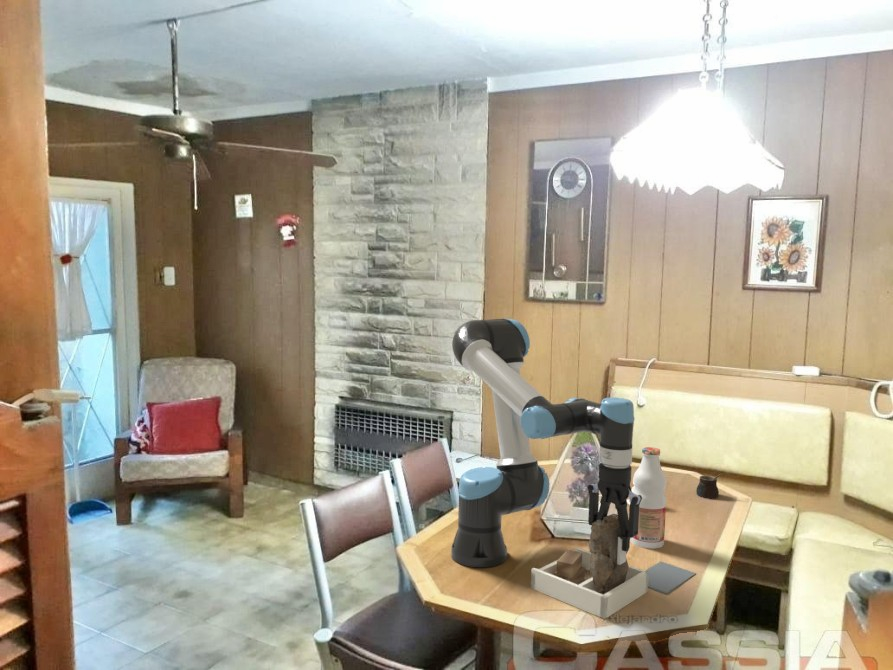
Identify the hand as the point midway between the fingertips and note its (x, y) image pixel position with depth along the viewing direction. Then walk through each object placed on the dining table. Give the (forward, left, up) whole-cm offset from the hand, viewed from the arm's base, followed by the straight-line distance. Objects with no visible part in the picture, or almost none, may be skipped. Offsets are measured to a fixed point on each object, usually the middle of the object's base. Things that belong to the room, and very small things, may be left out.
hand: (611, 559), depth 169 cm
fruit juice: (-10, +36, -10) cm, 39 cm away
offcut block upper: (-12, 0, -7) cm, 13 cm away
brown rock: (0, 0, -10) cm, 10 cm away
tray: (-6, 0, -10) cm, 11 cm away
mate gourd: (-15, +87, -10) cm, 89 cm away
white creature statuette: (-28, +61, -10) cm, 68 cm away
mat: (+4, +19, -10) cm, 22 cm away
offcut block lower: (-12, 0, -10) cm, 15 cm away
